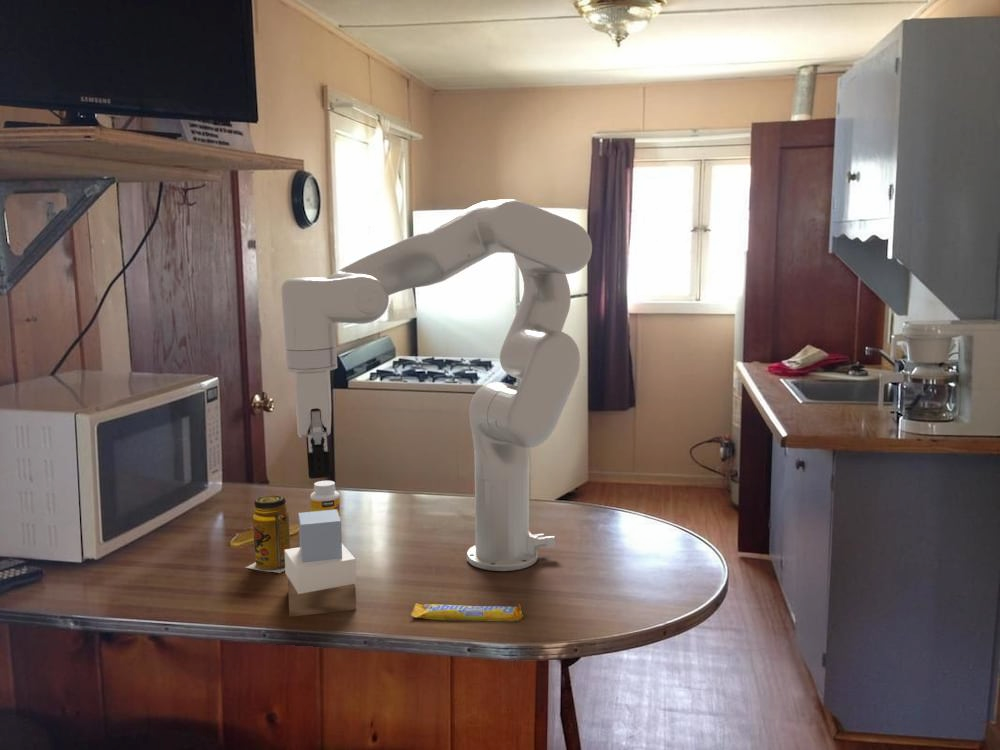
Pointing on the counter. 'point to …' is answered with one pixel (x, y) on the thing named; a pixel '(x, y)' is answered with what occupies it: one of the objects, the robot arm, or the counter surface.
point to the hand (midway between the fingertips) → (319, 468)
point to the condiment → (270, 533)
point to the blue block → (320, 535)
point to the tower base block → (321, 600)
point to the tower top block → (319, 571)
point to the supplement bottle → (325, 497)
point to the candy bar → (467, 612)
